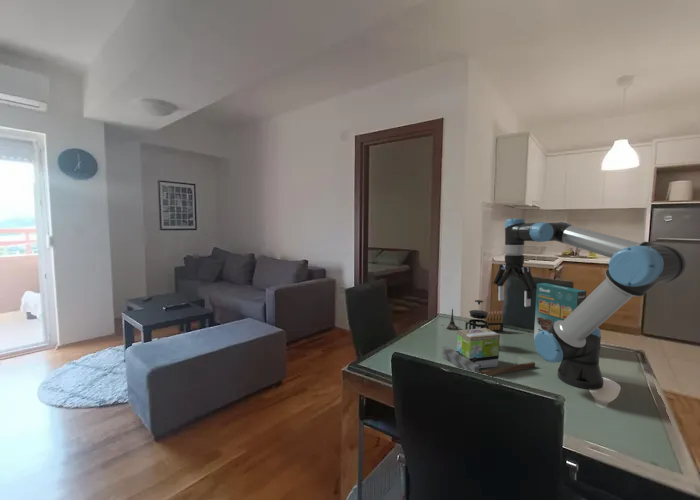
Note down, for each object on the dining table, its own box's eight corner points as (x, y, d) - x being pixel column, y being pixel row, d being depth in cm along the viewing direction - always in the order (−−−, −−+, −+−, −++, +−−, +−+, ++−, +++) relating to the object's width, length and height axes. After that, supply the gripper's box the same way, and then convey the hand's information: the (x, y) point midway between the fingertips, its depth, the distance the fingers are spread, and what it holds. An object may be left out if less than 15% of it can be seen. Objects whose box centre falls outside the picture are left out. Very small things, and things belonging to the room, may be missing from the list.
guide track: (534, 367, 148) (535, 356, 147) (474, 378, 138) (475, 366, 137) (497, 348, 169) (497, 338, 168) (442, 357, 159) (442, 346, 158)
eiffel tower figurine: (466, 333, 192) (467, 310, 191) (448, 334, 191) (449, 311, 190) (456, 325, 207) (457, 304, 206) (440, 325, 206) (440, 304, 205)
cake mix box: (582, 352, 164) (586, 291, 161) (573, 354, 162) (577, 292, 159) (542, 337, 184) (544, 282, 182) (533, 339, 182) (536, 283, 179)
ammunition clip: (501, 330, 196) (502, 310, 195) (503, 331, 194) (504, 310, 193) (483, 331, 195) (484, 310, 194) (485, 332, 193) (486, 311, 192)
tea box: (469, 371, 144) (470, 337, 143) (455, 361, 154) (456, 329, 152) (499, 366, 148) (500, 333, 147) (483, 357, 158) (485, 326, 157)
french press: (483, 340, 179) (484, 298, 177) (492, 347, 170) (494, 302, 168) (461, 341, 178) (462, 298, 176) (469, 348, 169) (471, 303, 167)
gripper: (547, 256, 137) (546, 308, 138) (497, 252, 160) (497, 297, 161) (534, 256, 134) (533, 310, 135) (485, 253, 157) (485, 298, 158)
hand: (513, 303), depth 148 cm, fingers open, 13 cm apart
